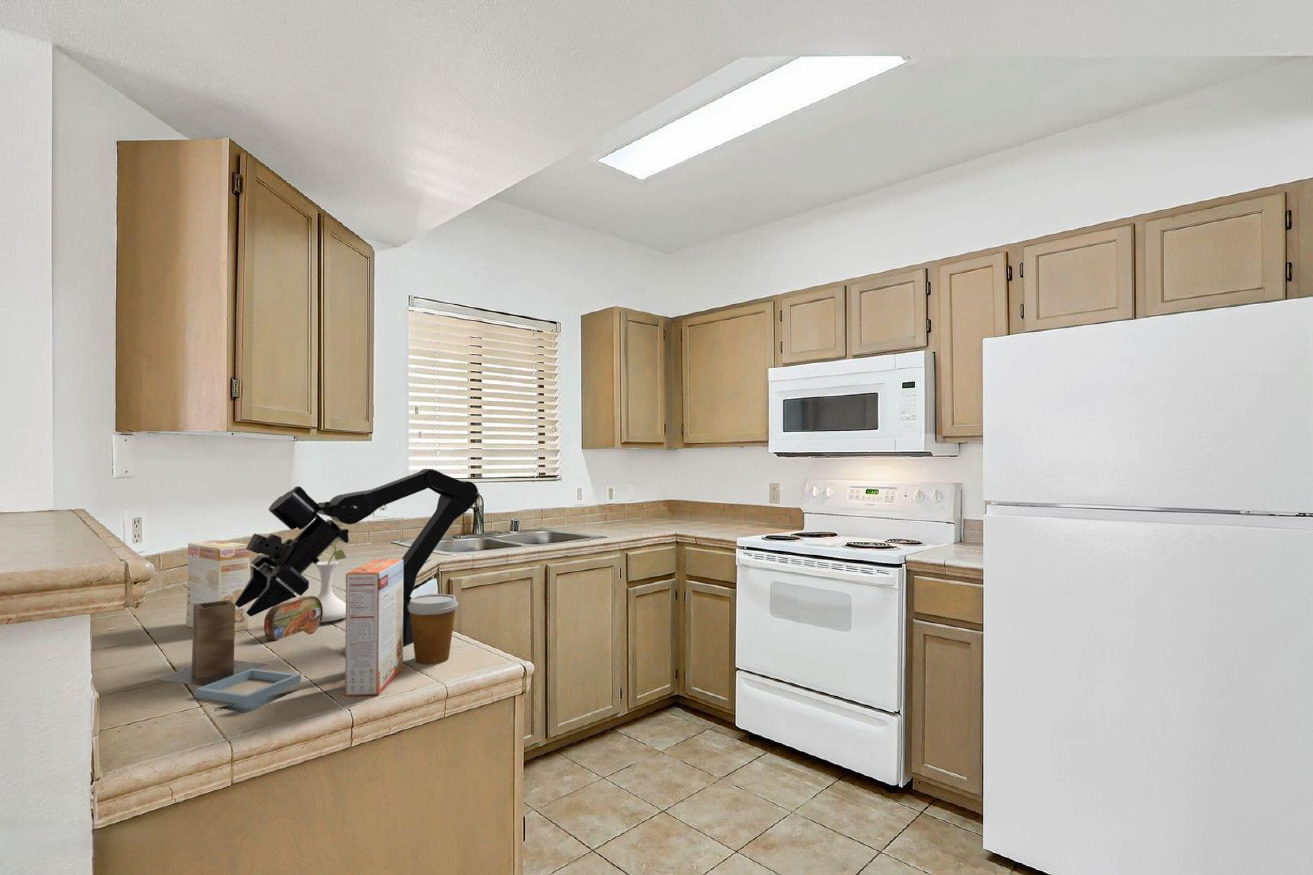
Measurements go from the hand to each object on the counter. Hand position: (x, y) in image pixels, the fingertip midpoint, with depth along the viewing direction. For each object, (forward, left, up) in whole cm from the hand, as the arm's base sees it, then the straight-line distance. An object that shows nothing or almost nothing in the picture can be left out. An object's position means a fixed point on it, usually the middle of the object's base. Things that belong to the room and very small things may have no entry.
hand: (242, 610), depth 120 cm
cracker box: (-27, -3, -12) cm, 29 cm away
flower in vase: (+13, -35, -12) cm, 39 cm away
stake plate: (+2, +4, -11) cm, 12 cm away
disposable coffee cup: (-29, -17, -12) cm, 36 cm away
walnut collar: (+2, +4, -10) cm, 11 cm away
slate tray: (-12, +9, -11) cm, 19 cm away
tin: (+9, -21, -12) cm, 26 cm away
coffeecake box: (+32, -22, -12) cm, 41 cm away
